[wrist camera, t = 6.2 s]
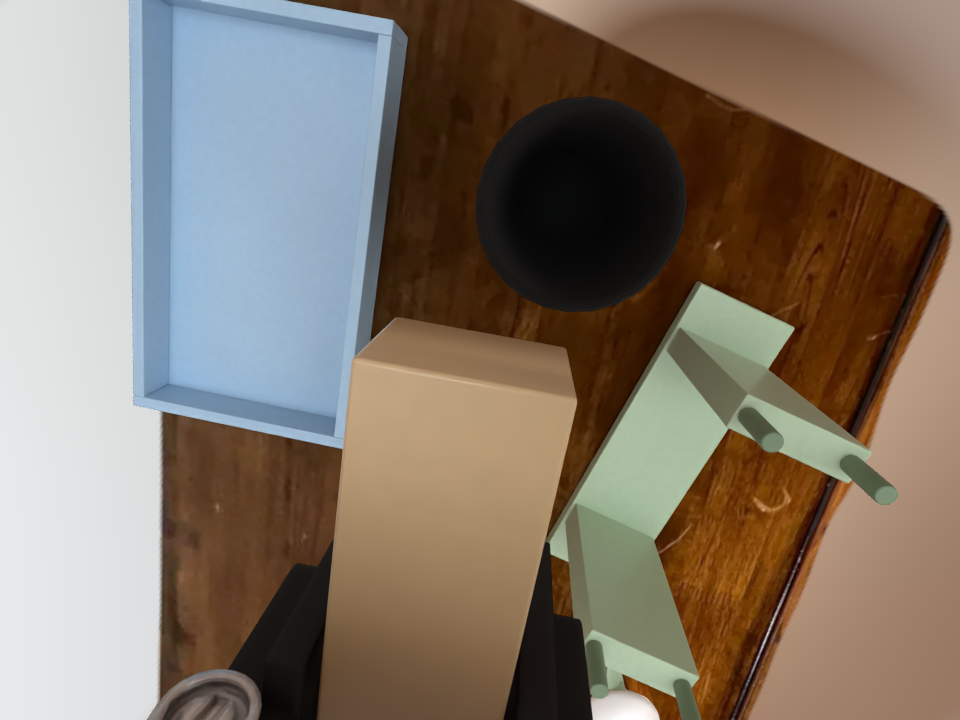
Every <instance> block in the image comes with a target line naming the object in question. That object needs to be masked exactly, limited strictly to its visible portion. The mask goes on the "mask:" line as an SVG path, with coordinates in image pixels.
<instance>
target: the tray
mask: <svg viewBox="0 0 960 720" xmlns="http://www.w3.org/2000/svg"><path fill="white" fill-rule="evenodd" d="M129 40H130V41H129V47H130V128H131V129H130V133H131V134H130V135H131V220H132V221H131V223H132V309H133V310H132V311H133V390H134V391H133V394H134V396H133V399H134V400H133V401H134V405H135V406H140V407H145V408H150V409H154V410H159V411H164V412H169V413H173V414H178V415H183V416H188V417H192V418H197V419H202V420H207V421H212V422H216V423H221V424H226V425H231V426H235V427H240V428H245V429H250V430H254V431H259V432H264V433H269V434H274V435H278V436H283V437H288V438H293V439H297V440H302V441H307V442H312V443H317V444H321V445H326V446H331V447H336V448H340V449H343V444H344V434H345V423H346V413H347V403H348V393H349V383H350V373H351V363H352V359H353V358H354V357H355V356H356V355H357V354H358V353H359V352H360V351H361V350H362V349H363V348H364V347H365V346H366V345H367V344H368V343H369V342H370V338H371V330H372V322H373V314H374V306H375V298H376V290H377V282H378V274H379V266H380V258H381V250H382V242H383V234H384V226H385V218H386V210H387V202H388V194H389V186H390V178H391V170H392V162H393V154H394V146H395V138H396V130H397V122H398V114H399V106H400V98H401V90H402V82H403V74H404V66H405V58H406V50H407V42H408V37H407V36H406V35H405V33H404V32H403V31H402V30H401V28H400V27H399V26H398V25H397V24H396V23H395V21H394V20H390V19H385V18H379V17H373V16H368V15H362V14H357V13H351V12H346V11H340V10H335V9H329V8H324V7H318V6H313V5H307V4H302V3H296V2H291V1H285V0H129Z"/></svg>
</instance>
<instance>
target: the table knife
mask: <svg viewBox="0 0 960 720" xmlns="http://www.w3.org/2000/svg"><path fill="white" fill-rule="evenodd" d="M576 406H577V399H576V394H575V389H574V384H573V379H572V374H571V370H570V365H569V360H568V355H567V350H566V349H565V348H564V347H559V346H554V345H548V344H543V343H537V342H532V341H526V340H521V339H515V338H510V337H504V336H499V335H493V334H488V333H482V332H477V331H471V330H466V329H460V328H455V327H449V326H444V325H438V324H433V323H428V322H422V321H417V320H411V319H406V318H400V317H397V318H395V319H394V320H392V321H391V322H390V323H389V324H388V325H387V326H386V327H385V328H384V329H383V330H382V331H381V332H380V333H379V334H378V335H377V336H376V337H375V338H374V339H372V340H371V341H370V342H369V343H368V344H367V345H366V346H365V347H364V348H363V349H362V350H361V351H360V352H359V353H358V354H357V355H356V356H355V357H354V358H353V359H352V363H351V373H350V383H349V393H348V403H347V413H346V423H345V434H344V444H343V454H342V464H341V474H340V484H339V494H338V504H337V514H336V524H335V534H334V545H333V555H332V565H331V575H330V585H329V595H328V605H327V615H326V625H325V635H324V645H323V655H322V666H321V676H320V686H319V696H318V706H317V716H316V720H503V719H504V715H505V710H506V706H507V702H508V697H509V693H510V689H511V685H512V680H513V676H514V672H515V667H516V663H517V659H518V655H519V650H520V646H521V642H522V637H523V633H524V629H525V625H526V620H527V616H528V612H529V607H530V603H531V599H532V595H533V590H534V586H535V582H536V577H537V573H538V569H539V565H540V560H541V556H542V552H543V547H544V543H545V539H546V535H547V530H548V526H549V522H550V517H551V513H552V509H553V505H554V500H555V496H556V492H557V487H558V483H559V479H560V475H561V470H562V466H563V462H564V458H565V453H566V449H567V445H568V440H569V436H570V432H571V428H572V423H573V419H574V415H575V410H576Z"/></svg>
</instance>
